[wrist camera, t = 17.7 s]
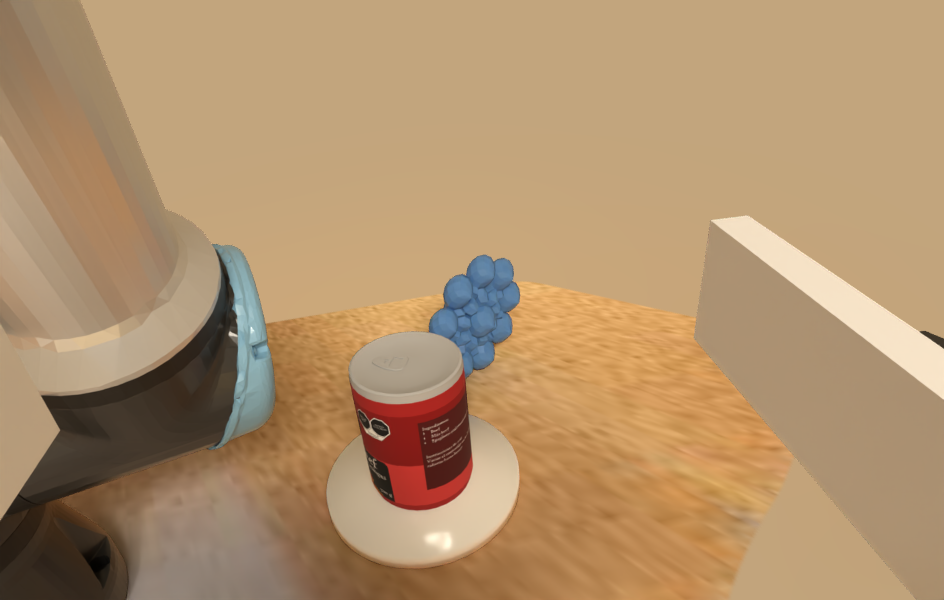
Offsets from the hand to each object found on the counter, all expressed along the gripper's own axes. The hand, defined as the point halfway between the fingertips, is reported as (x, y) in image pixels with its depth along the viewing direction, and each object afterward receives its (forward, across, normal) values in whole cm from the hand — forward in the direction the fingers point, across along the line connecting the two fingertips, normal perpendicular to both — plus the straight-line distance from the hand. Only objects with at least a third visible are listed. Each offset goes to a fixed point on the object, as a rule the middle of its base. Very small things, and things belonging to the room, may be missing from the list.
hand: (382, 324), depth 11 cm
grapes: (+39, +5, -30) cm, 49 cm away
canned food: (+24, -1, -29) cm, 38 cm away
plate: (+24, -1, -30) cm, 38 cm away
